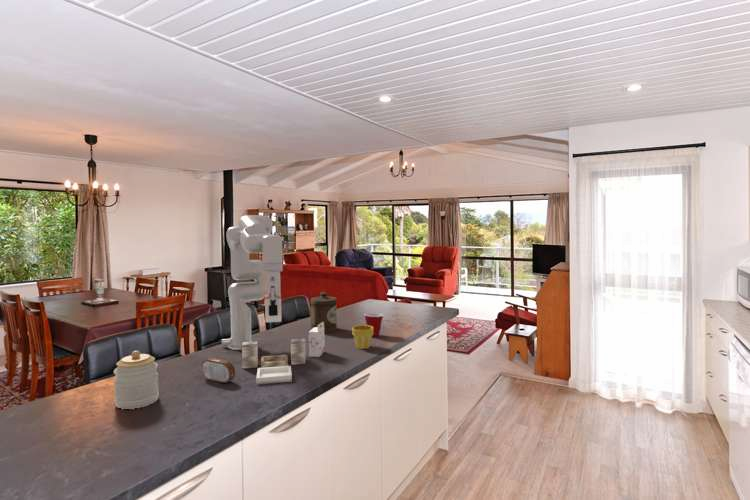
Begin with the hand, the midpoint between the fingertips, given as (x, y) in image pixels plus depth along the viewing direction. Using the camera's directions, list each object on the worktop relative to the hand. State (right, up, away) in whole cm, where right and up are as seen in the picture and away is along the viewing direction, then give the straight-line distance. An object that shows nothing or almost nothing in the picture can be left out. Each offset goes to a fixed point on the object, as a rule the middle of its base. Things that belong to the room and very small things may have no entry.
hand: (273, 313), depth 161 cm
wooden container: (+10, -21, +76) cm, 79 cm away
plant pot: (+33, -23, +42) cm, 59 cm away
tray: (0, -25, +1) cm, 25 cm away
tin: (-21, -26, -1) cm, 33 cm away
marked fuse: (0, -3, 0) cm, 3 cm away
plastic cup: (+39, -22, +63) cm, 77 cm away
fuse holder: (-4, -24, +17) cm, 30 cm away
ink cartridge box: (+13, -24, +31) cm, 41 cm away
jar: (-41, -27, -21) cm, 53 cm away
